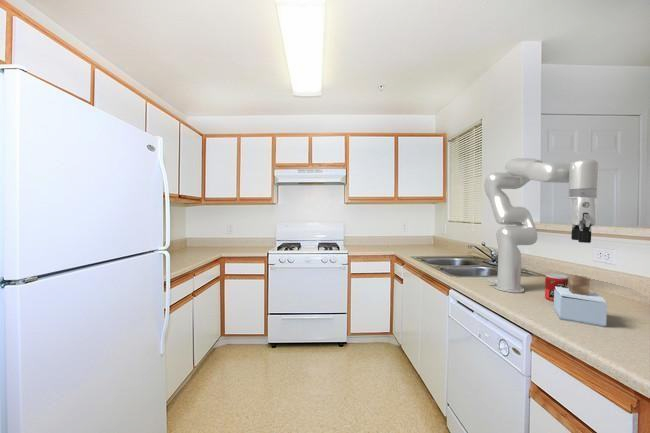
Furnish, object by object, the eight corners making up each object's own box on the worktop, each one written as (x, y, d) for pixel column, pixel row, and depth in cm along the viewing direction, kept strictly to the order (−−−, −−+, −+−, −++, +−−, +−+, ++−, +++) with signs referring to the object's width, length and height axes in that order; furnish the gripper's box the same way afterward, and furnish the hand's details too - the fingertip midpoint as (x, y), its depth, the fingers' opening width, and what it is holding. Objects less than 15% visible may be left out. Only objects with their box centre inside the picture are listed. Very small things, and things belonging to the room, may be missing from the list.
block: (571, 293, 99) (573, 277, 99) (569, 290, 103) (570, 274, 103) (588, 295, 97) (590, 279, 97) (585, 292, 101) (586, 276, 100)
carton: (559, 319, 98) (560, 297, 98) (553, 309, 109) (554, 289, 108) (606, 327, 92) (607, 303, 92) (594, 315, 102) (595, 294, 102)
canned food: (549, 301, 117) (550, 276, 117) (541, 296, 125) (542, 272, 124) (571, 304, 115) (572, 278, 114) (562, 298, 122) (563, 274, 122)
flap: (561, 295, 98) (561, 293, 98) (555, 288, 108) (555, 286, 108) (605, 303, 92) (606, 300, 92) (595, 294, 102) (595, 292, 102)
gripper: (605, 192, 90) (603, 244, 90) (589, 195, 104) (587, 239, 105) (574, 193, 94) (572, 242, 94) (563, 195, 108) (562, 238, 109)
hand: (580, 241), depth 99 cm, fingers open, 9 cm apart
